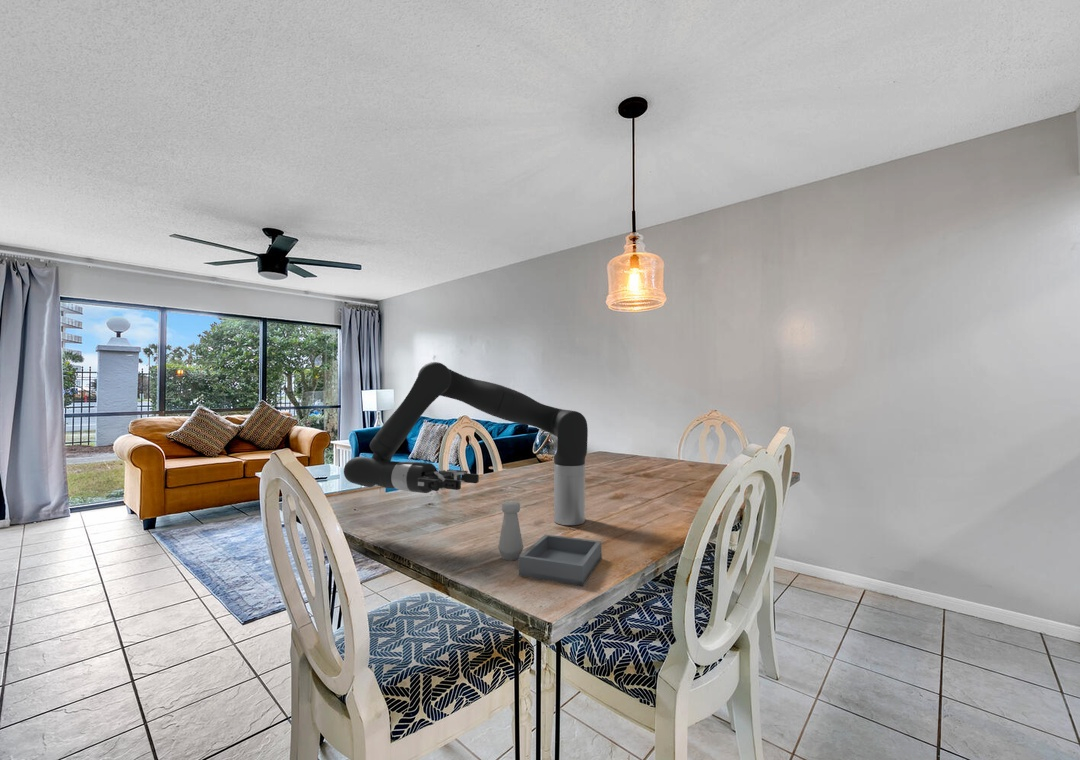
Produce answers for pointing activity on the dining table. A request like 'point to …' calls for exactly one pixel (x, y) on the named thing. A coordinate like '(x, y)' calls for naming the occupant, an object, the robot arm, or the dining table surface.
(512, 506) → the salt shaker
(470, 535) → the dining table surface
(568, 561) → the tray
